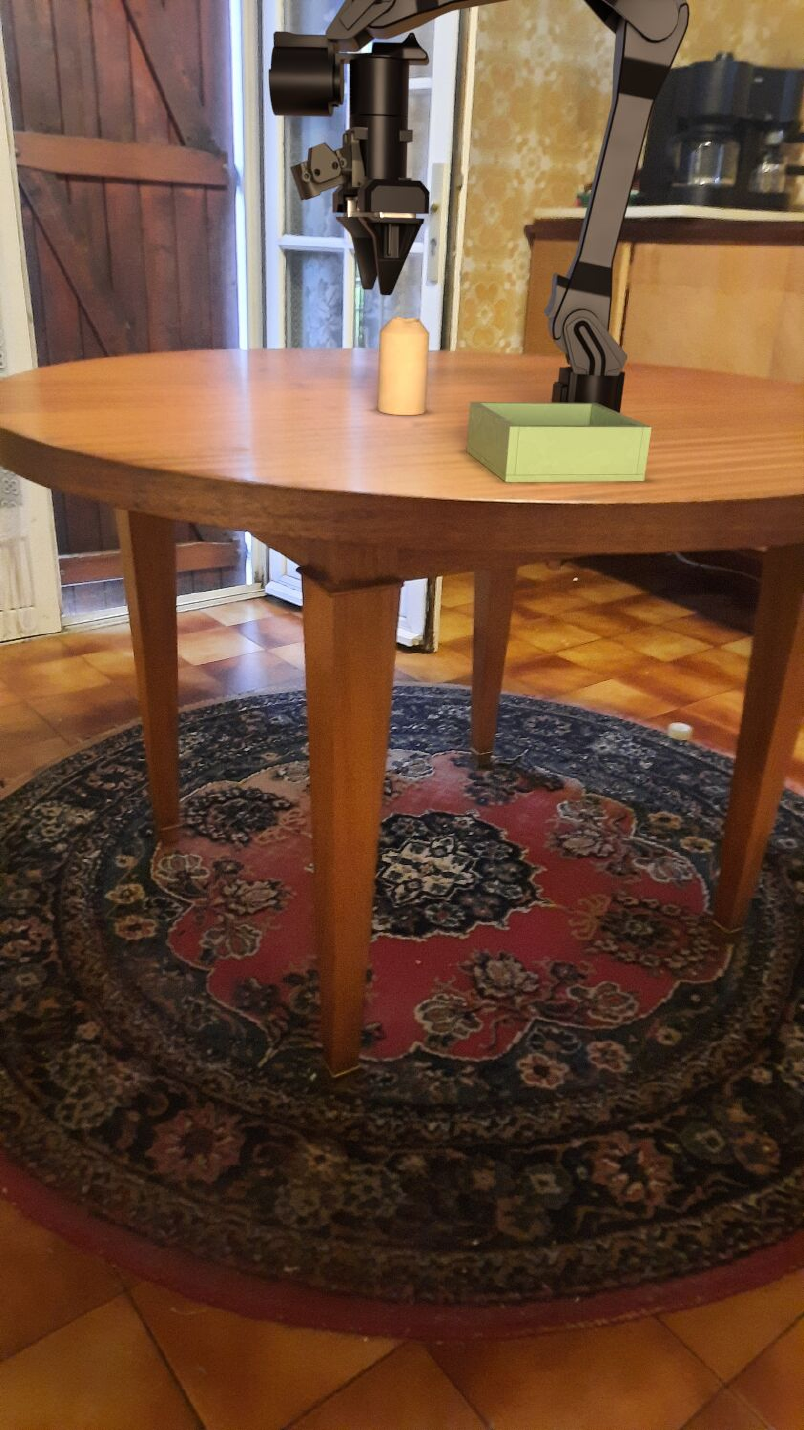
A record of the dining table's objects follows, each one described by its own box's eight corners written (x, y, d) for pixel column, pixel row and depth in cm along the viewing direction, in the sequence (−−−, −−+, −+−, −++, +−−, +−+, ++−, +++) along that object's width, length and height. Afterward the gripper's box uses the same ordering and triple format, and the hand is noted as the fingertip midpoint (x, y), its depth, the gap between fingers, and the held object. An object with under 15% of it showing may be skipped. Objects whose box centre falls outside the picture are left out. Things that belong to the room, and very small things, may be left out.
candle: (391, 416, 113) (394, 320, 108) (369, 408, 117) (371, 315, 113) (434, 414, 115) (439, 320, 111) (411, 406, 119) (415, 315, 115)
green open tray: (591, 451, 99) (596, 402, 97) (644, 481, 88) (652, 427, 86) (466, 451, 97) (469, 401, 95) (505, 482, 86) (510, 426, 84)
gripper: (283, 122, 105) (287, 286, 112) (310, 104, 89) (312, 297, 95) (388, 127, 107) (386, 287, 114) (433, 111, 91) (427, 299, 98)
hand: (376, 292), depth 105 cm, fingers open, 9 cm apart
